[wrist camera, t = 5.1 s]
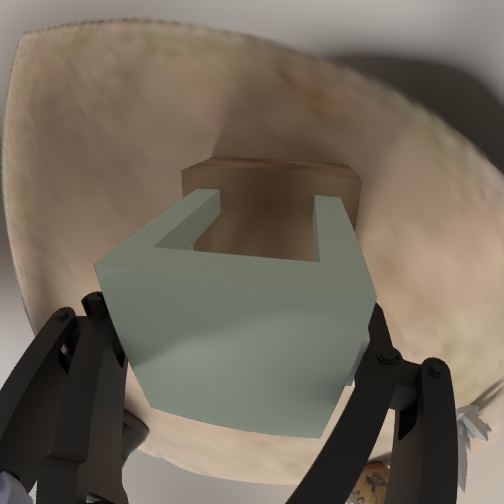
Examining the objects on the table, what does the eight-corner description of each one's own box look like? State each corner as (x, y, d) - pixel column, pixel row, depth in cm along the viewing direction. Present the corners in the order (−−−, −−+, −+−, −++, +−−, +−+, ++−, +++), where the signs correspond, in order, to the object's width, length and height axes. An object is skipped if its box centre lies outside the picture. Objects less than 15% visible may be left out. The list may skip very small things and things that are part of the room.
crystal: (495, 393, 26) (515, 463, 12) (456, 432, 32) (465, 494, 18) (456, 400, 27) (473, 483, 14) (417, 439, 33) (423, 507, 20)
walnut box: (215, 274, 24) (195, 309, 20) (209, 158, 19) (181, 170, 15) (331, 286, 22) (335, 326, 18) (348, 165, 18) (361, 180, 13)
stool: (206, 302, 19) (151, 407, 11) (196, 188, 15) (93, 264, 7) (322, 315, 18) (319, 438, 10) (340, 197, 14) (377, 297, 6)
